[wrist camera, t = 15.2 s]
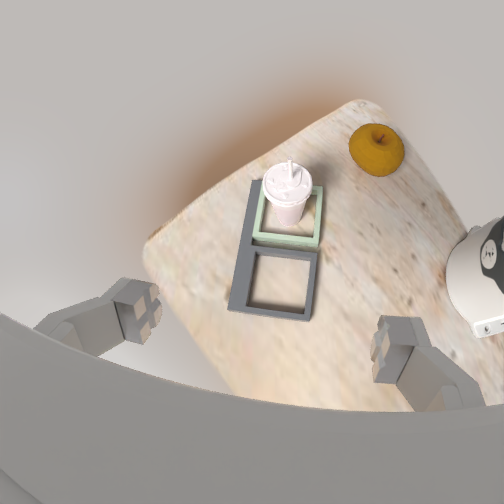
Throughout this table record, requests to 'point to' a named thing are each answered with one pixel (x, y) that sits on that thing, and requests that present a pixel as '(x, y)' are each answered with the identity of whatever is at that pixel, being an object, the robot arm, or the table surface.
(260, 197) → the rail
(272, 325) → the table surface
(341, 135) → the table surface
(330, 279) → the table surface
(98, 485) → the robot arm
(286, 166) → the smoothie
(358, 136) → the apple
